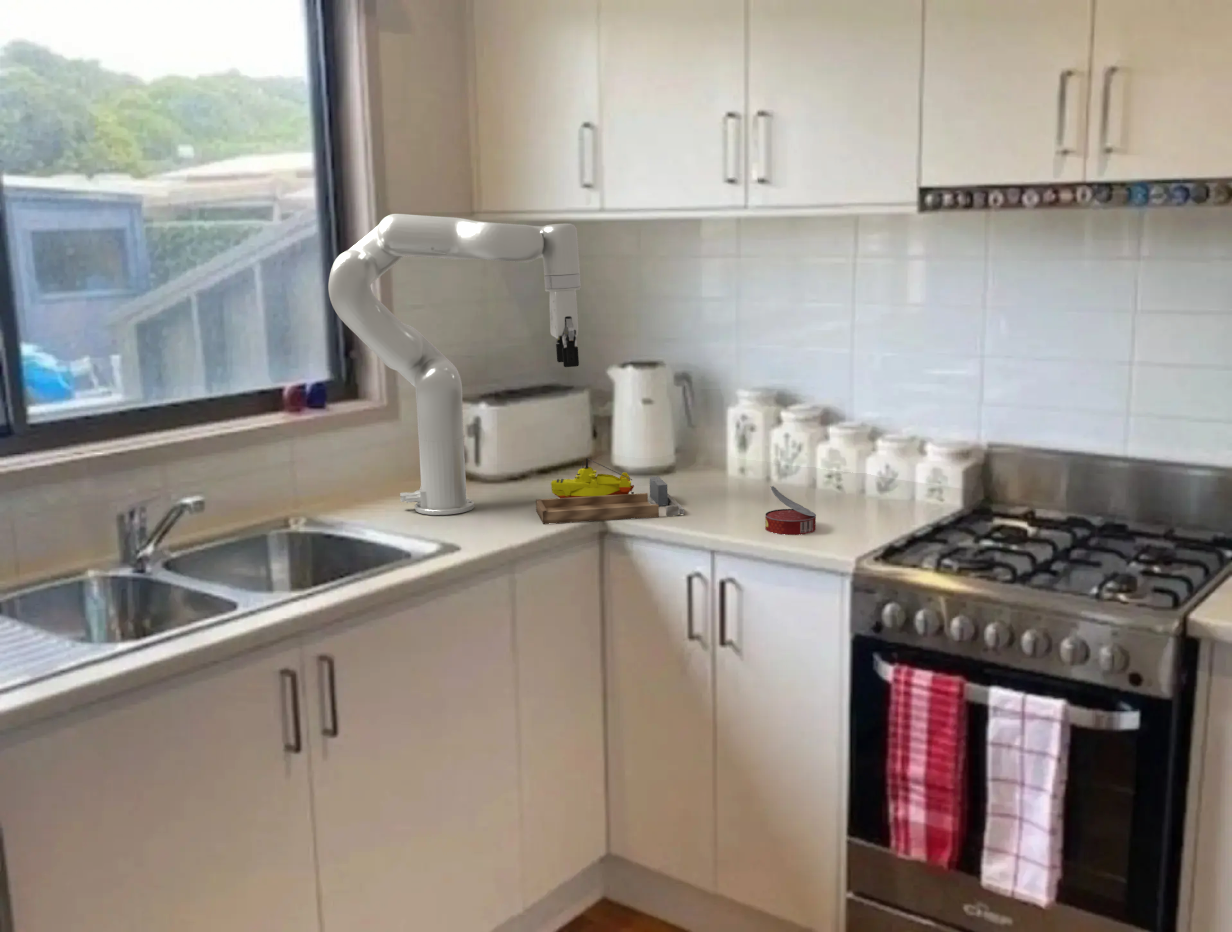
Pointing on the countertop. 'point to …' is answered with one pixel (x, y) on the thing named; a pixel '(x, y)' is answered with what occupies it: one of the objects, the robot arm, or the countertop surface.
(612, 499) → the bay
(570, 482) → the toy boat
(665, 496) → the grey rectangular block
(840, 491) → the countertop surface
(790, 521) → the canned food
